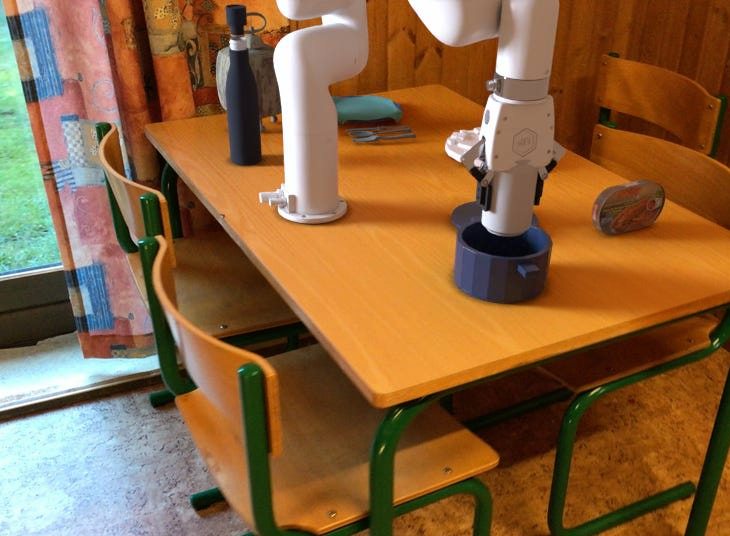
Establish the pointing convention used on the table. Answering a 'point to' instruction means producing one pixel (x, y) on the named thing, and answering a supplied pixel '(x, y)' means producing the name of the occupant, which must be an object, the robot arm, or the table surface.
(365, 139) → the cutlery set
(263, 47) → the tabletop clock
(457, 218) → the pot lid
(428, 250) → the table surface
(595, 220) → the tin
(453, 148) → the embossed medallion
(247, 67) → the dark blue bottle
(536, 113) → the robot arm
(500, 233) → the can
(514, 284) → the pot
